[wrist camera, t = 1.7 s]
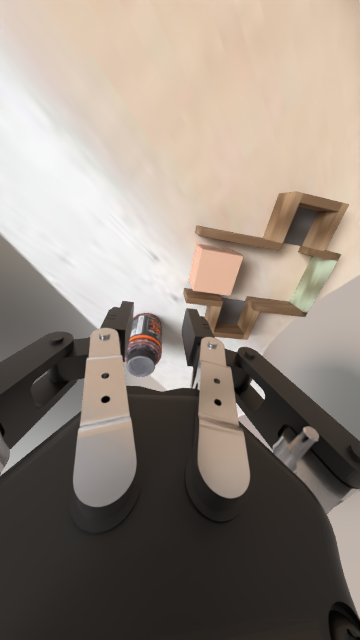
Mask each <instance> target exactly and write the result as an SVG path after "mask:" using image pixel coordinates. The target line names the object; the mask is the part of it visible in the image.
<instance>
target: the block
mask: <svg viewBox="0 0 360 640" xmlns="http://www.w3.org/2000/svg"><path fill="white" fill-rule="evenodd" d="M242 259H243V256H242V255H240V254H238V253H236V252H235V251H233V250H229V249H224V248H218V247H213V246H207V245H202V244H196V247H195V252H194V257H193V262H192V267H191V271H190V276H189V282H190V284H191V287H192V289H193V291H199V292H207V293H214V294H221V295H229V296H230V295H231V292H232V289H233V286H234V283H235V280H236V277H237V274H238V271H239V268H240V265H241V262H242Z"/></svg>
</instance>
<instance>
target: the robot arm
mask: <svg viewBox="0 0 360 640" xmlns="http://www.w3.org/2000/svg"><path fill="white" fill-rule="evenodd" d="M133 309H134V302H127V301H123V302H122V304H121V307H120V308H118V307H113V308H112V309H110V310H109V312H108V314H107V316H106V318H105V320H104V322H103V324H102V326H101V328H100V329H97V330H95V331H93V332H92V334H91V336H90V337H89V338H85V339H75V340H73V336H72V335H71V334H70V333H67V332H54V333H50V334H48V335H46V336H44V337H42V338H40V339H39V340H37V341H35V342H34V343H32V344H30V345H29V346H27V347H25V348H23V349H22V350H20V351H18V352H17V353H15V354H13V355H12V356H10V357H8V358H7V359H5V360H3V361H2V362H0V474H1V471H2V470H3V469H4V467H5V465H6V464H7V462H8V460H9V457H10V449H11V448H12V447H13V446H14V445H15V444H16V443H17V442H18V441H19V440H20V439H21V438H22V437H23V436H24V435H25V434H26V433H27V432H28V431H29V430H30V429H31V428H32V427H33V426H34V425H35V424H36V423H37V422H38V421H39V420H40V419H41V418H42V417H43V416H44V415H45V414H46V413H47V412H48V411H49V410H50V409H51V407H53V406H54V405H55V404H56V403H57V402H58V401H59V400H60V399H61V398H62V396H63V395H64V394H65V393H66V392H67V391H68V390H69V389H70V388H71V387H72V386H73V385H74V384H75V383H76V382H77V380H78V379H82V378H85V381H84V391H83V401H82V411H81V412H79V413H78V414H77V415H76V416H74V417H73V418H72V419H71V420H70V421H68V422H67V423H66V424H65V425H63V426H62V427H61V428H59V429H58V430H57V431H56V432H55V433H53V434H52V435H51V436H50V437H48V438H47V439H46V440H45V441H43V442H42V443H41V444H40V445H38V446H37V447H36V448H35V449H34V450H32V451H31V452H30V453H28V454H27V455H26V456H25V457H24V458H22V459H21V460H20V461H19V462H17V463H16V464H15V465H14V466H12V467H11V468H10V469H9V470H8V471H6V472H5V473H4V474H2V475H1V476H0V640H360V618H359V616H358V614H357V611H356V609H355V606H354V603H353V601H352V598H351V595H350V592H349V589H348V586H347V583H346V580H345V577H344V573H343V569H342V566H341V562H340V557H339V552H338V547H337V542H336V538H335V535H334V532H333V528H332V526H331V523H330V521H329V519H328V517H327V514H328V513H329V511H331V510H332V509H333V508H334V507H335V506H337V505H338V504H340V503H341V502H343V501H344V500H346V499H347V498H349V497H351V496H352V495H354V494H355V493H357V492H358V491H360V441H359V440H358V439H357V438H355V437H354V436H353V435H352V434H351V433H349V431H347V430H346V429H345V428H344V427H343V426H342V425H341V424H339V423H338V422H337V421H336V420H335V419H334V418H333V417H331V416H330V415H329V414H328V413H327V412H326V411H324V410H323V409H322V408H321V407H320V406H319V405H318V404H316V403H315V402H314V401H313V400H312V399H311V398H310V397H308V396H307V395H306V394H305V393H304V392H303V391H302V390H300V389H299V388H298V387H297V386H296V385H295V384H294V383H292V382H291V381H290V380H289V379H288V378H287V377H286V376H284V375H283V374H282V373H281V372H280V371H279V370H277V369H276V368H275V367H274V366H273V365H272V364H270V363H269V362H268V361H267V360H266V359H265V358H263V356H261V355H260V354H259V353H258V352H257V351H255V350H253V349H251V348H248V347H241V348H239V349H238V352H234V351H230V350H227V349H225V348H224V344H223V343H222V342H221V341H220V340H218V339H216V338H215V337H214V335H213V333H212V330H211V329H210V326H209V323H208V321H207V320H206V319H205V318H204V317H202V316H199V314H198V311H197V309H188V308H187V309H186V312H185V316H184V321H183V326H182V338H183V344H184V349H185V355H186V360H187V366H193V372H192V377H191V385H190V388H180V389H174V390H169V391H164V392H160V391H156V390H152V389H148V388H144V387H140V386H126V382H125V375H124V366H123V362H125V358H126V353H127V349H128V345H129V340H130V336H131V331H132V325H133ZM46 371H47V374H46V375H44V376H43V377H42V378H41V379H40V380H38V381H37V382H36V383H34V381H35V380H36V379H37V378H39V377H40V376H41V375H42V374H44V373H45V372H46ZM252 379H253V380H254V381H255V382H256V383H257V384H258V385H259V386H260V387H261V388H262V389H263V391H264V393H265V400H264V399H263V398H262V397H261V396H260V395H259V394H258V393H257V392H256V390H255V389H254V388H253V387H252V386H251V385H250V383H251V381H252ZM33 383H34V384H33ZM32 384H33V385H32ZM236 403H237V404H238V405H239V407H240V408H241V409H242V411H243V412H244V413H245V415H246V416H247V417H248V418H249V420H250V421H251V422H252V424H253V425H254V426H255V428H256V429H257V430H258V431H259V433H260V434H261V435H262V437H263V438H264V439H265V440H266V442H267V443H268V444H269V446H270V447H271V448H272V449H273V453H274V454H273V453H272V452H271V451H270V450H269V449H268V448H267V447H266V446H265V445H264V444H263V443H262V442H260V440H259V439H257V438H256V437H255V436H254V435H253V434H252V433H251V432H250V431H249V430H248V429H247V428H246V427H245V426H244V425H243V424H241V423H240V422H239V421H238V415H237V407H236Z"/></svg>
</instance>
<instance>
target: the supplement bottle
mask: <svg viewBox="0 0 360 640" xmlns="http://www.w3.org/2000/svg"><path fill="white" fill-rule="evenodd" d="M161 334H162V330H161V323H160V321H159V319H158V318H157V317H155V316H154V315H152V314H149V313H143V314H139V315H137V316H135V317H134V318H133V325H132V331H131V336H130V340H129V345H128V349H127V353H126V358H125V361H126V362H127V370H128V372H129V373H130V374H132V375H134V376H138V377H144V376H148V375H150V374H151V373H152V372H153V371H154V369H155V365H156V364H157V363H158V362H159V360H160V358H161V354H162V338H161V337H162V335H161Z"/></svg>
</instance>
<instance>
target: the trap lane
mask: <svg viewBox="0 0 360 640" xmlns="http://www.w3.org/2000/svg"><path fill="white" fill-rule="evenodd" d="M348 206H349V204H345V203H341V202H337V201H333V200H329V199H325V198H321V197H317V196H313V195H309V194H305V193H301V192H289V193H281V194H279V195H278V198H277V201H276V204H275V206H274V209H273V212H272V215H271V218H270V220H269V223H268V226H267V229H266V231H265V234H264V237H263V238H259V237H254V236H249V235H243V234H238V233H233V232H228V231H223V230H217V229H212V228H207V227H202V226H196V231H195V233H196V234H198V235H199V236H203V237H208V238H214V239H219V240H225V241H230V242H236V243H241V244H247V245H252V246H258V247H263V248H269V249H274V250H280V248H281V246H282V244H283V242H285V243H290V244H295V245H301V247H300V249H299V251H298V252H301V253H304V254H307V255H310V256H313V257H312V259H311V261H310V263H309V265H308V267H307V269H306V270H305V272H304V274H303V276H302V278H301V280H300V282H299V284H298V286H297V288H296V290H295V292H294V294H293V296H292V298H291V300H290V302H286V301H279V300H271V299H263V298H256V297H248V296H247V298H246V301H240V300H232V299H224V298H220V296H219V295H218V294H214V293H207V292H199V291H193V289H187V288H184V293H183V294H184V297H185V301H186V303H190V304H199V305H207V310H206V313H205V317H204V318H205V319H206V320H207V321H208V323H209V326H210V329H211V330H212V333H213V335H214V337H223V338H234V339H245V340H248V338H249V335H250V333H251V331H252V329H253V326H254V324H255V322H256V319H257V317H258V315H259V312H267V313H275V314H284V315H292V316H301V317H305V316H306V314H307V312H308V311H309V309H310V308H311V306H312V304H313V303H314V301H315V299H316V297H317V296H318V294H319V292H320V290H321V289H322V287H323V285H324V284H325V282H326V280H327V278H328V277H329V275H330V273H331V271H332V270H333V268H334V266H335V264H336V263H337V261H338V259H339V258H340V256H341V254H338V253H334V252H330V251H326V250H325V249H326V247H327V245H328V244H329V242H330V240H331V238H332V236H333V234H334V232H335V230H336V228H337V227H338V225H339V223H340V221H341V219H342V217H343V215H344V213H345V211H346V210H347V208H348Z"/></svg>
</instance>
